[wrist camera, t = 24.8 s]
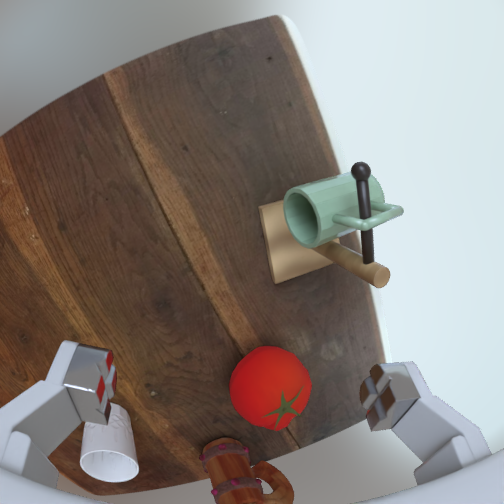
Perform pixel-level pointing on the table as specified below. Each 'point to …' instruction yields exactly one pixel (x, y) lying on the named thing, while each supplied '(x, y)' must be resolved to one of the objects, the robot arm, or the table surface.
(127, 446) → the white cup
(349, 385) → the table surface
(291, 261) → the mug stand
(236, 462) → the mug
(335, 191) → the enamel mug
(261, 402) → the tomato
